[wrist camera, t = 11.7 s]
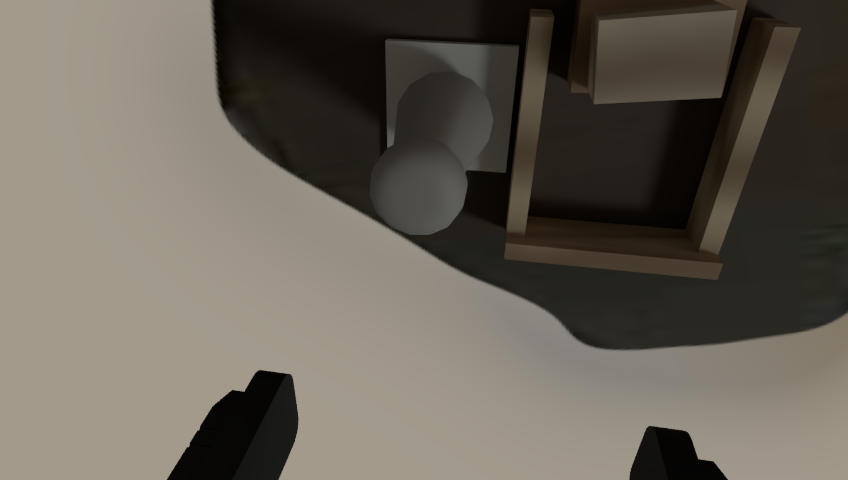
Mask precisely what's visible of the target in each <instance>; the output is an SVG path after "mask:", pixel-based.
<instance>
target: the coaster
mask: <svg viewBox="0 0 848 480" xmlns="http://www.w3.org/2000/svg"><path fill="white" fill-rule="evenodd" d="M385 50H386V101H387V148H388V147H390V146H392V145H393V144H394V134H395V125H396V115H397V105H398V102H399V100H400V99H401V97H402V96H403V94H404V92H405V91H406V89H407V88H408V86H409V85H410V84H411V83H413V82H415V81H416V80H418V79H420V78H422V77H423V76H425V75H427V74H429V73H430V72H446V71H453V72H455V73H458V74H460V75H463V76H465V77H467V78H470V79H472V80H473V81H474V82H475V83H476V84H477V85H478V87H479V88H480V89H481V90H482V91H483V92H484V94H485V95H486V96H487V98H488V101H489V105H490V109H491V112H492V116H493V119H494V121H493V125H492V129H491V134H490V138H489V141H488V143H487V144H486V145H485V147H484V148H483V149H482V150H481V152H480V153H479V154H478V156H477V157H476V158H475V160H474V161H473V162H472V164H471V165H470V166H469V168H468V169H467V170H476V171H489V172H502V173H506V166H507V157H508V147H509V138H510V129H511V119H512V110H513V100H514V91H515V81H516V72H517V63H518V53H519V45H511V44H490V43H470V42H449V41H428V40H407V39H386V40H385Z"/></svg>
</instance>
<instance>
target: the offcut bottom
mask: <svg viewBox="0 0 848 480" xmlns="http://www.w3.org/2000/svg"><path fill="white" fill-rule="evenodd" d="M716 1H717V2H719V3H722V4H724V5H727V6H729V7H732V8H734V9H737V15H736V20H735V25H734V31H733V36H732V42H731V47H730V52H729V58H728V63H727V69H726V74H725V79H724V85H723V90H724V86H725V82H726V78H727V75H728V71H729V67H730V63H731V60H732V56H733V52H734V48H735V44H736V41H737V37H738V33H739V29H740V26H741V22H742V18H743V14H744V11H745V7H746V3H747V0H576V6H575V15H574V24H573V33H572V41H571V50H570V59H569V68H568V77H567V82H568V85H569V89H570V92H571V93H589V91H588V72H589V55H590V37H591V20H592V12H593V11H605V10H617V9H630V8H642V7H654V6H667V5H679V4H691V3H704V2H716ZM723 90H722V93H723Z"/></svg>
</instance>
